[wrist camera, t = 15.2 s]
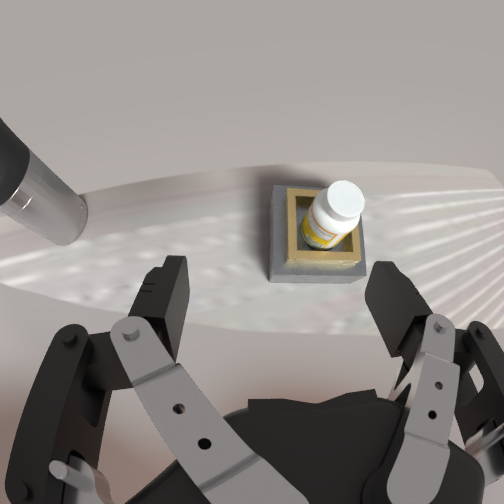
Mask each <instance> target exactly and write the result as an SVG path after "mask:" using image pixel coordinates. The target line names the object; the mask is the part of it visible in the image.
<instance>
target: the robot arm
mask: <svg viewBox="0 0 504 504" xmlns="http://www.w3.org/2000/svg"><path fill="white" fill-rule="evenodd" d="M0 211H1V212H2V213H4V214H5V215H7V216H9V217H10V218H12V219H14V220H15V221H17V222H19V223H20V224H22V225H24V226H26V227H27V228H29V229H31V230H32V231H34V232H36V233H38V234H40V235H41V236H43V237H45V238H47V239H48V240H50V241H52V242H54V243H56V244H58V245H67V244H69V243H71V242H73V241H74V240H75V239H77V237H78V236H79V235H80V234H81V232H82V231H83V229H84V227H85V224H86V221H87V215H88V214H87V206H86V204H85V202H84V201H83V200H82V199H81V198H80V197H79V196H78V195H77V194H76V193H75V192H74V191H73V190H72V189H70V188H69V187H68V186H67V185H66V184H65V183H64V182H63V181H62V180H61V179H60V178H58V176H56V175H55V174H54V173H53V172H52V171H51V170H50V169H49V168H48V167H47V166H46V165H45V164H44V163H43V162H42V161H41V160H40V159H39V158H38V157H37V156H36V155H35V154H34V153H33V152H32V151H31V150H30V149H29V148H28V147H27V146H26V145H25V144H24V143H23V142H22V141H21V140H20V139H19V138H18V137H17V136H16V135H15V134H14V133H13V132H12V131H11V130H10V128H9V127H8V126H7V125H6V124H5V123H4V122H3V120H2V119H1V118H0ZM189 294H190V288H189V278H188V268H187V259H186V256H172V255H168V256H167V257H166V259H165V262H164V264H163V266H162V267H154V268H153V269H152V270H151V271H150V272H149V273H148V274H146V277H145V279H144V281H143V285H141V287H140V290H139V292H138V294H137V296H136V298H135V301H134V303H133V305H132V308H131V310H130V312H129V315H128V317H126V318H123V319H121V320H119V321H118V322H116V323H115V325H113V327H112V329H111V331H109V332H104V333H98V334H90V335H89V334H88V333H87V330H86V329H85V328H84V327H83V326H81V325H77V324H70V325H67V326H65V327H63V328H61V329H60V330H59V331H58V332H57V333H56V334H55V336H54V338H53V340H52V342H51V344H50V346H49V348H48V351H47V353H46V355H45V357H44V359H43V362H42V364H41V366H40V368H39V371H38V373H37V376H36V378H35V381H34V383H33V386H32V388H31V391H30V394H29V396H28V399H27V402H26V405H25V407H24V410H23V413H22V416H21V419H20V423H19V426H18V429H17V432H16V436H15V440H14V443H13V447H12V451H11V455H10V459H9V464H8V469H7V473H6V479H5V491H6V494H7V497H8V499H9V501H10V502H11V504H115V503H114V502H113V500H112V498H111V495H110V486H109V482H108V480H107V478H106V477H105V476H104V474H103V473H101V472H100V471H99V470H97V467H98V460H99V453H100V448H101V442H102V436H103V431H104V426H105V421H106V416H107V411H108V406H109V403H110V398H111V394H112V390H120V389H127V388H134V389H135V391H136V393H137V395H138V397H139V399H140V401H141V402H142V404H143V406H144V408H145V410H146V411H147V413H148V415H149V416H150V418H151V420H152V422H153V423H154V425H155V427H156V428H157V430H158V431H159V433H160V435H161V436H162V438H163V439H164V441H165V442H166V444H167V445H168V447H169V448H170V450H171V451H172V453H173V454H174V456H175V457H176V460H175V461H174V462H173V463H172V464H171V465H169V467H167V468H166V469H165V470H164V471H163V472H162V473H161V474H159V475H158V476H157V477H156V478H155V479H154V480H153V481H151V482H150V483H149V484H148V485H147V486H145V487H144V488H143V489H142V490H141V491H139V492H138V493H137V494H136V495H135V496H134V497H132V498H131V499H130V500H128V501H127V502H126V503H125V504H482V499H483V493H484V488H485V487H486V486H487V485H489V484H491V483H493V482H495V481H497V480H499V479H500V478H502V477H504V352H503V351H502V349H501V347H500V346H499V344H498V342H497V341H496V339H495V337H494V336H493V334H492V332H491V331H490V329H489V328H488V327H487V326H486V325H485V324H483V323H481V322H479V321H472V322H471V323H470V324H469V326H468V327H467V329H466V330H462V329H456V328H455V327H454V325H453V323H452V322H451V321H450V320H449V319H448V318H446V317H445V316H443V315H440V314H433V312H432V311H431V309H430V308H429V306H428V305H427V303H426V302H425V300H424V299H423V297H422V296H421V294H419V291H418V290H417V289H416V288H415V286H414V284H413V283H412V282H411V280H410V279H409V278H408V277H406V276H405V275H404V274H403V273H401V272H400V271H399V270H398V268H397V267H396V265H395V264H394V263H393V262H392V261H376V262H375V263H374V265H373V268H372V271H371V275H370V278H369V281H368V284H367V287H366V290H365V301H366V304H367V306H368V308H369V310H370V312H371V314H372V316H373V318H374V320H375V323H376V325H377V327H378V329H379V331H380V333H381V336H382V338H383V340H384V342H385V344H386V347H387V349H388V351H389V354H390V355H391V357H392V358H393V357H399V356H402V358H403V360H402V361H401V363H400V365H399V368H398V371H397V374H396V377H395V380H394V382H393V385H392V388H391V391H390V394H389V396H388V398H387V399H384V398H378V397H377V395H376V391H375V389H371V390H365V391H358V392H352V393H346V394H343V395H341V396H338V397H335V398H333V399H330V400H327V401H324V402H321V403H317V404H314V403H306V402H300V401H294V400H288V399H248V408H244V409H240V410H237V411H234V412H232V413H229V414H227V415H225V416H224V417H222V416H221V415H220V414H219V413H218V411H217V410H216V409H215V408H214V407H213V405H212V404H211V403H210V402H209V400H208V399H207V398H206V397H205V395H204V394H203V393H202V391H201V390H200V389H199V388H198V386H197V385H196V384H195V382H194V381H193V380H192V378H191V377H190V376H189V374H188V373H187V371H186V370H185V369H184V367H183V366H182V365H181V364H180V363H177V364H176V358H177V354H178V349H179V344H180V339H181V334H182V330H183V325H184V320H185V316H186V311H187V307H188V303H189ZM475 364H476V365H477V367H478V369H479V370H480V373H481V375H482V377H483V380H484V385H483V388H482V389H481V391H480V392H479V393H478V391H477V389H476V387H475V385H474V382H473V380H472V378H471V376H470V374H469V371H470V370H471V369H472V368H473V366H474V365H475ZM454 414H455V417H456V420H457V423H458V426H459V429H460V432H461V435H462V438H463V442H464V445H465V451H464V450H463V449H461V448H460V447H458V446H457V445H455V444H454V443H453V442H451V441H450V440H449V434H450V430H451V425H452V420H453V415H454Z"/></svg>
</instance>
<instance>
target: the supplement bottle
mask: <svg viewBox="0 0 504 504" xmlns="http://www.w3.org/2000/svg"><path fill="white" fill-rule="evenodd" d="M363 208H364V197H363V194H362V192H361V191H360V189H359V188H358V187H357V186H356V185H354V184H353V183H351V182H349V181H344V180H340V181H336V182H334V183H332V184H331V185H330V186H329V187H328V188H325V189H323V190H322V191H320V192H319V193H318V194H317V196H316V197H315V199H314V201H313V202H312V204H311V206H310V208H309V210H308V212H307V213H306V215H305V217H304V219H303V221H302V224H301V232H302V235H303V238H304V239H305V241H306V242H307V243H308V244H309V245H310V246H311V247H313V248H315V249H319V250H327V249H330V248H332V247H334V246H335V245H336V244H338V243H339V242H340V241H341V240H342V239H343V238H344V237H345V236H346V235H347V234H349V233H350V232H351V231H352V230H353V229H354V228H355V227H356V225H357V224H358V222H359V219H360V213H361V212H362V210H363Z"/></svg>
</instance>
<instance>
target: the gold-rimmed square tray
mask: <svg viewBox="0 0 504 504" xmlns="http://www.w3.org/2000/svg"><path fill="white" fill-rule="evenodd" d="M323 189H325V188H318V187H305V186H289V185H273V190H272V195H271V200H270V254H269V282H272V283H352V282H354V281H356V280H359V279H361V278H363V277H365V276H366V262H365V249H364V237H363V228H362V219H361V213H360V219H359V222H358V224H357V225H356V227H355V228H354V229H353V230H352V231H351V232H350V233H349V234H347V235H346V236H345V237H344V238H343V239H342V240H341V241H340V242H339V243H338V244H336V245H335V246H334V247H332V248H330V249H327V250H319V249H315V248H313V247H311V246H310V245H309V244H308V243H307V242H306V241H305V239H304V238H303V235H302V232H301V224H302V221H303V219H304V217H305V215H306V213H307V212H308V210H309V208H310V206H311V204H312V202H313V201H314V199H315V197H316V196H317V194H318V193H319V192H320V191H322V190H323Z"/></svg>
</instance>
